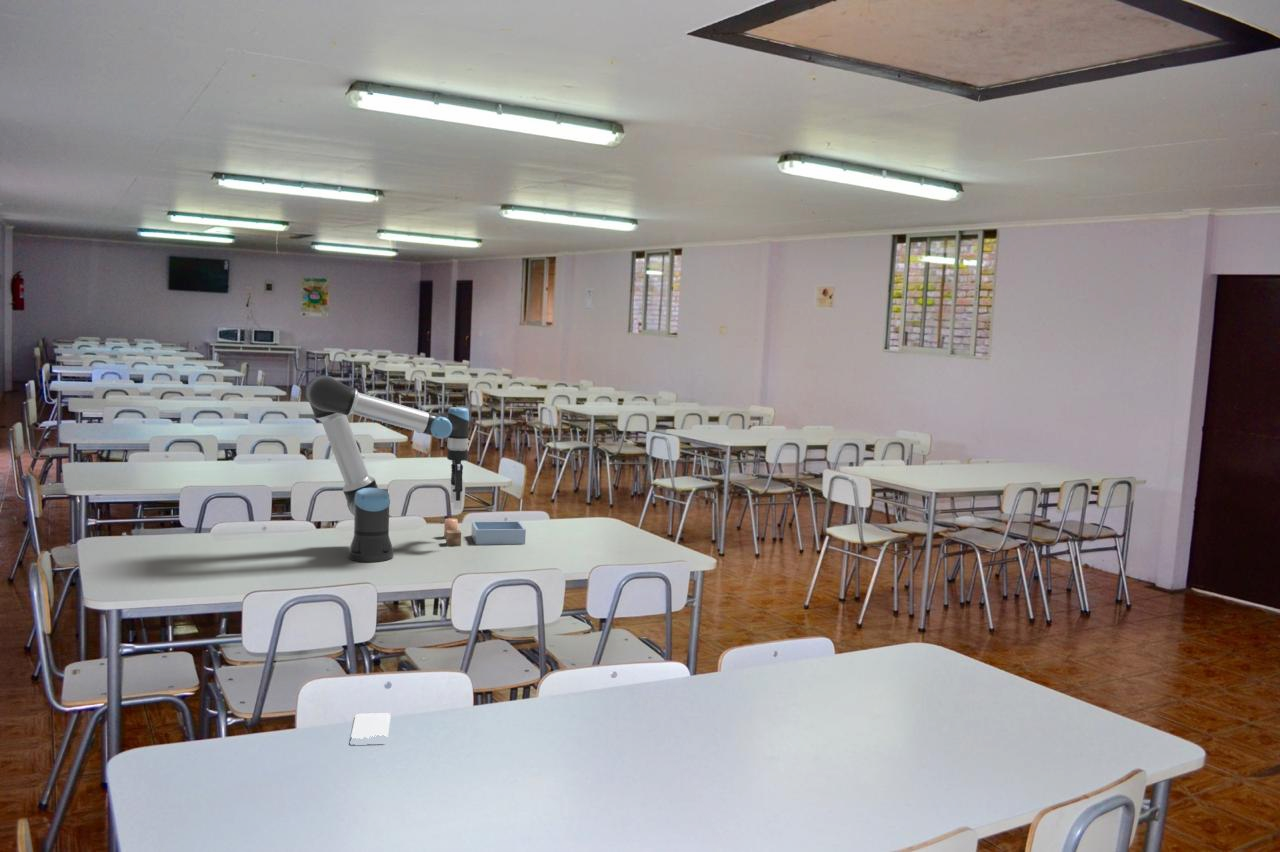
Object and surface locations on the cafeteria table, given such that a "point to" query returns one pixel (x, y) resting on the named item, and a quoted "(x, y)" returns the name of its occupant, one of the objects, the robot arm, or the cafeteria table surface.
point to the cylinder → (450, 525)
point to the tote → (498, 532)
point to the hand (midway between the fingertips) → (455, 505)
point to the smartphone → (371, 725)
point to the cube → (453, 538)
